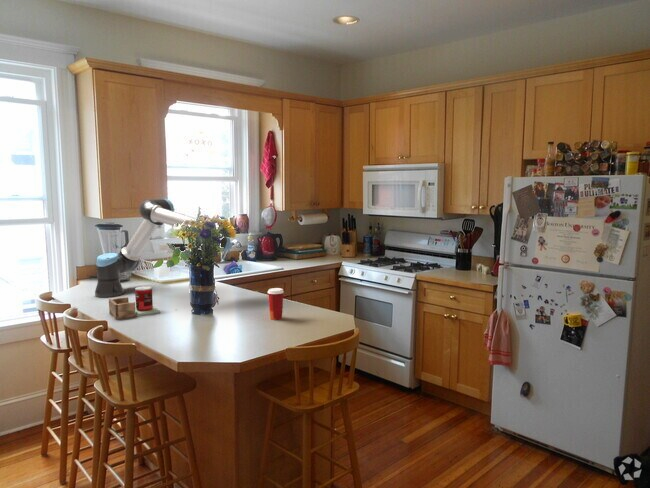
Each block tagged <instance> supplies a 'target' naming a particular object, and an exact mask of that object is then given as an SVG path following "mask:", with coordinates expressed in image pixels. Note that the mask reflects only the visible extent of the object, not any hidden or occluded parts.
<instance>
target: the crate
mask: <svg viewBox="0 0 650 488" xmlns="http://www.w3.org/2000/svg"><path fill="white" fill-rule="evenodd" d="M108 308H109V309H108V311H109V312H108V313H109V315H110V316H112V317H113V318H114V319H115V320H121V319H130V318H136V317H142V316H149V315H154V314H161V311H160V309H158V307H155V306H154V305H153V308H152V309H151V310H148V311H138V310H137V309H136V301H132V302H129V297H128V296H124V297H117V298H116V297H115V298H111V299H109V298H108Z"/></svg>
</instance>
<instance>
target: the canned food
mask: <svg viewBox="0 0 650 488" xmlns="http://www.w3.org/2000/svg"><path fill="white" fill-rule="evenodd" d="M134 294H135V307H136V309H137V310H138V311H148V310H151V309H152V308H153V306H154V305H153V300H154V299H153V288H152V286H150V285H149V286H148V285H147V286H146V285H143V286H137V287H135V289H134Z"/></svg>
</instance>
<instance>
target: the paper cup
mask: <svg viewBox="0 0 650 488" xmlns="http://www.w3.org/2000/svg"><path fill="white" fill-rule="evenodd" d="M284 292H285V291H284V289H283V288H280V287H274V288H273V287H272V288H269V289H268V290H267V296H268V297H267V298H268V307H269V310H268V311H269V318H270V320H273V321H279V320H282V319H283V305H284Z"/></svg>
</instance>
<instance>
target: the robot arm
mask: <svg viewBox="0 0 650 488" xmlns="http://www.w3.org/2000/svg"><path fill="white" fill-rule="evenodd" d="M174 207H175V206H174V204H173V202H172V201H171V200H170V199H167V198H152V199H151V198H150V199H146V200H143V201H142V202H141V203H140V205H139V208H138V212H139V214H140V217H142V219H143V220H142V222H141V224H140V225H139V226H138V228H137V230H136V232H135V233H134V234H133V236H132V237H131V239H130V241H129V242H128V243H127V245H126V246H123V247H122V248H121V250H119V253H117V252H108V253H103V254H100V255H98V256H97V257H96V261H95V262H96V263H95V264H96V277H97V284H96V287H95V290H94V295H95V296H94V297H96V298H112V297H118V296H122V295H124V293H125V292H124V288H123V286H122V283H121V280H120V275H122V274H127V273H131V272H134V271H136V269H138V268H139V266H140V264H141V261H140V260H141V255H140V254H141V253H142V252H143V250H144V249H145V247H146V246H147V244H148V242H149V241H150V239H151V238H152V236H153V234H155V231H156V230H157V229H158V227H161V226H163V225H164V224H165V225H169V226H172V227H175V226H174V224H176V223H178V224H180V225H181V224H182V223H183V222H184V220H187V219H192V220H195V219H197V217H196V218H195V217H192V216H190V215H186V214H182V213H181V212H177V211H175V208H174ZM218 216H219V217H220V218H221V219H225V220H226V217H225V216H222V215H218ZM169 245H174V246H175V248H176V249H180V250H181V251H184V250H185V247H184V243H169ZM231 245H232V243H231V238H229V237H228V238H223V239H222V240H221V247H224V251H223V252H227V251H229V250H230V249H231ZM174 246H173V247H174ZM158 251H166V254H174V253H173V250H172V249H170V248H169V246H168V244H159V245H158ZM181 251H180V252H181Z"/></svg>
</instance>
